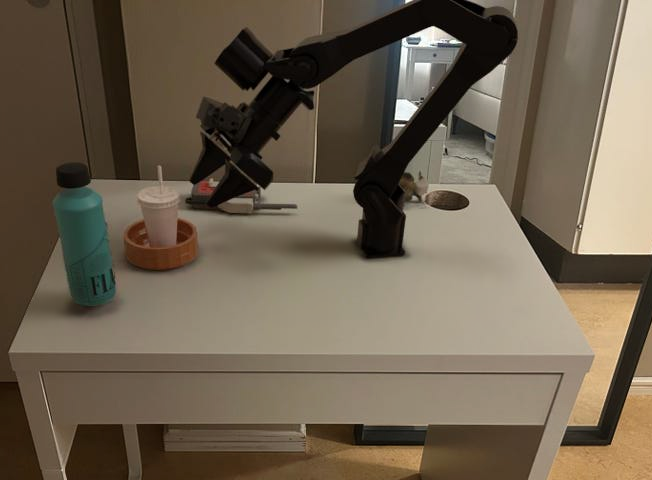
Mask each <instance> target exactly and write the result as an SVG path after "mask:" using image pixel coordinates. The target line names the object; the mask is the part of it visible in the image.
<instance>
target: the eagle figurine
mask: <svg viewBox="0 0 652 480" xmlns="http://www.w3.org/2000/svg"><path fill="white" fill-rule="evenodd" d="M417 176H418V181H416V182H415V176H413V175H412V174H411V172H409V171H408V172H407V171H406V172H404V174H403V176H402V178H401V180H400V182H399V185H400V186H401V187H402V188H403V189H404V190H405V192H406V197H405V202H404V204H405V203H408V202H410V201H412V200H413V197H416V198H417V200H418V202H420V203H422V201H423V196H424V195H425V194H427V193H428V190H429V187H430V182H429V181H428V179H426V178H424V176H423V175H422V170H419V172H418V175H417Z"/></svg>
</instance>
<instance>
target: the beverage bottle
mask: <svg viewBox="0 0 652 480" xmlns="http://www.w3.org/2000/svg"><path fill="white" fill-rule="evenodd" d="M55 175H56V179H55V180H56V185H57V186H58V187H60V188H62V190H61V191H59V192H58V194H57V195H56V196H55V197H54V198H53V200H52V207H53V211H54V216H55V220H56V221H55V222H56V225H57V230H58V235H59V241H60V246H61V252H62V263H63V264H64V272H65V276H66V277H65V280H66V284H67V290H68V291H69V294H70V297H71V299H72V301H73V302H74V303H75V304H78V305H80V306H87V307H88V306H89V307H95V306H100V305H104V304H106V303H108V302H110V301H111V300H113V299H114V297H115V296H116V293H117V286H116V285H117V282H116V273H115V272H114V268H115V267H114V265H113V263H114V262H113V260H112V259H113V256H112V252H111V248H110V242H111V241H110V239H109V232H108V222H107V220H106V218H107V216H106V215H105V211H104V207H103V206H104V205H103V197H102V195H101V194H100V193H98V192H97V191H96V190H94V189H93V188H91V187H88V186H89V185H90V184H91V182H92V179H91V176H90V171H89V168H88V165H86V164H85V163H83V162H76V161H73V162H66V163H62V164H60V165H58V166H57V167H56V168H55Z"/></svg>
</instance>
